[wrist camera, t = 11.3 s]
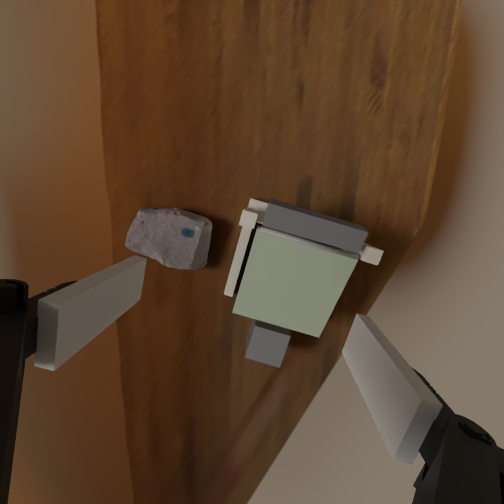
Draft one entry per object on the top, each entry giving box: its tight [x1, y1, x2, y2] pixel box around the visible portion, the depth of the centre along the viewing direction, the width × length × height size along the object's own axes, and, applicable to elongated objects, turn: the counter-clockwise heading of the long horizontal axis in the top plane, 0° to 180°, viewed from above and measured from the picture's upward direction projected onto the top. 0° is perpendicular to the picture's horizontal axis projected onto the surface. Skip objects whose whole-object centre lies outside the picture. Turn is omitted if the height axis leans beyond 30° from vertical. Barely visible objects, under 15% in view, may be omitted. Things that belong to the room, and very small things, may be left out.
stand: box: [224, 198, 384, 297], centre depth 40 cm, size 18×19×12 cm
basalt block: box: [245, 319, 291, 368], centre depth 45 cm, size 6×6×7 cm
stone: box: [125, 208, 212, 271], centre depth 43 cm, size 13×10×6 cm
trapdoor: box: [232, 199, 369, 338], centre depth 37 cm, size 18×14×3 cm
